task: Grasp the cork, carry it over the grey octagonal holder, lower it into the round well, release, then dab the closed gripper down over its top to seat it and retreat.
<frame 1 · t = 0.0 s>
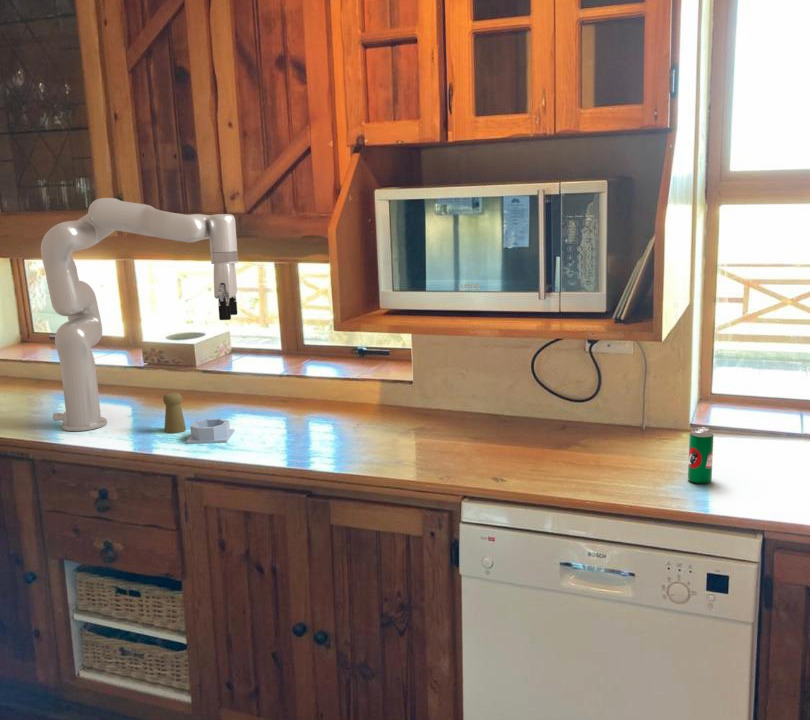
hand: (228, 317, 248), 31 cm above the worktop, fingers open, 9 cm apart
soda can: (699, 482, 192), on the worktop
grey octagonal holder: (210, 437, 238), on the worktop
cork: (175, 431, 246), on the worktop
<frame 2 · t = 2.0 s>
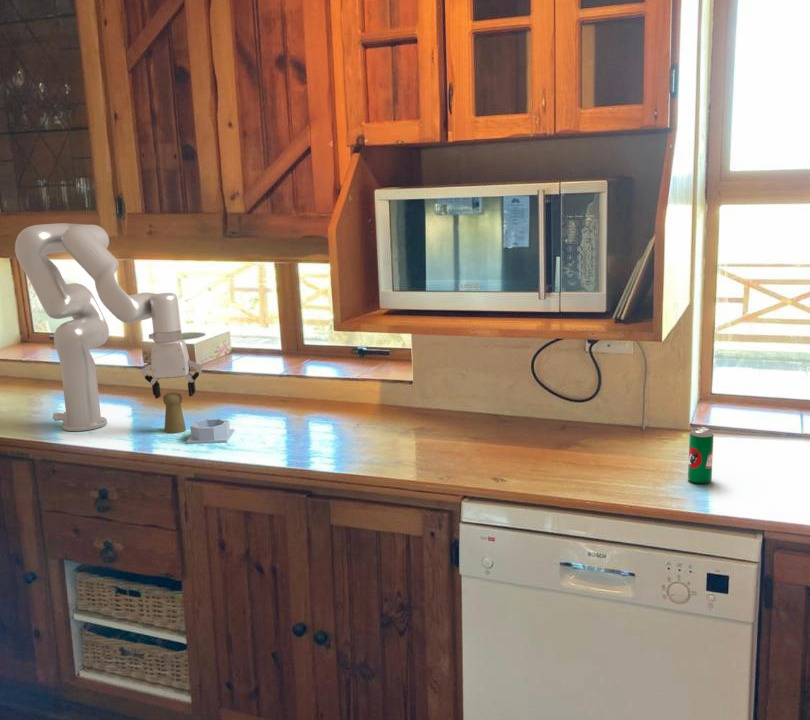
hand: (174, 396, 244), 10 cm above the worktop, fingers open, 9 cm apart
nothing on the worktop moved.
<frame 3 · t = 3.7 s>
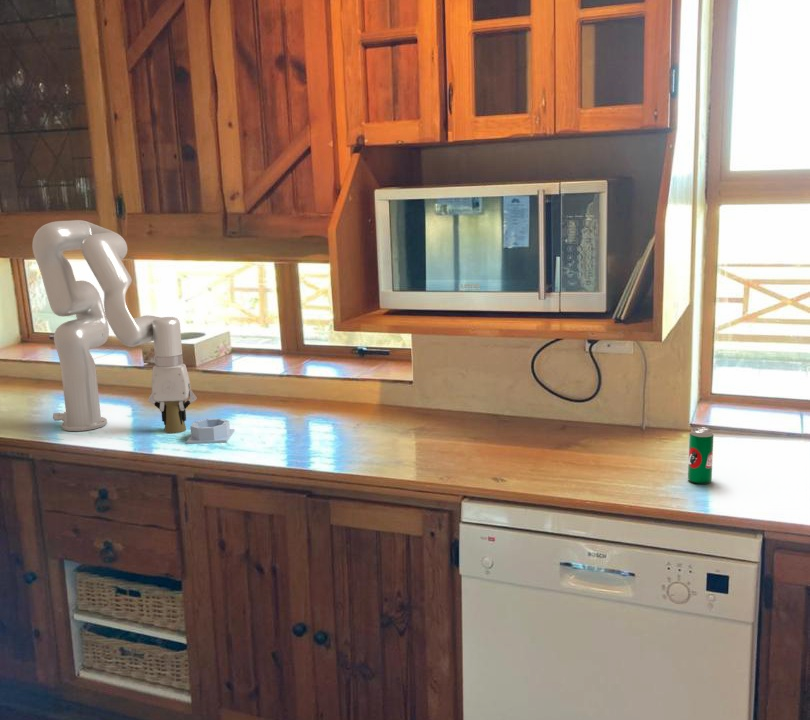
hand: (174, 422, 246), 2 cm above the worktop, fingers closed on cork, 3 cm apart
cork: (175, 431, 246), on the worktop, touching gripper
everything else where it was.
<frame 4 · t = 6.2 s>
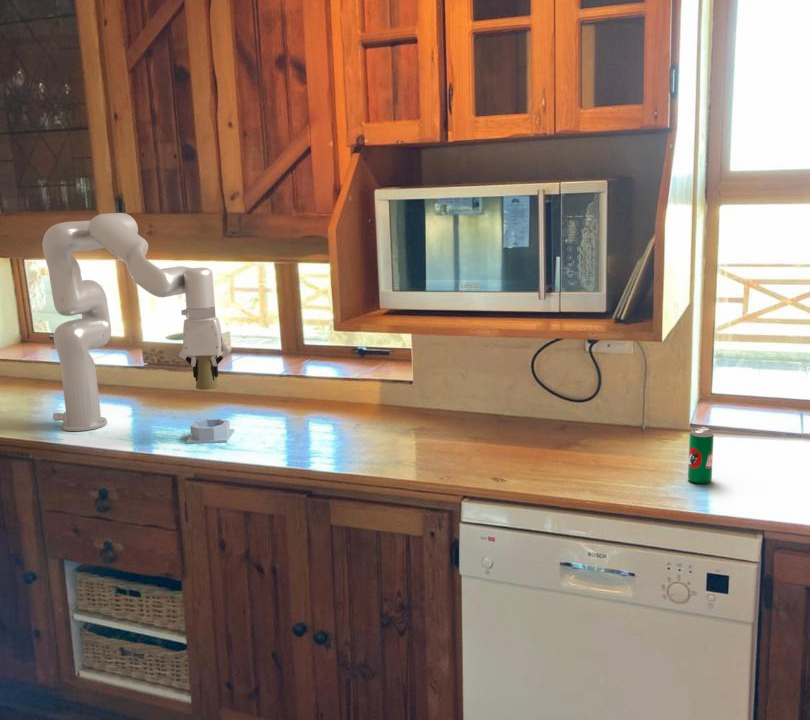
hand: (206, 379, 235), 17 cm above the worktop, fingers closed on cork, 3 cm apart
cork: (207, 387, 236), point 14 cm above the worktop, touching gripper
everything else where it was.
when the fingers open (4 cm above the worktop, at t = 9.0 s): cork drops 1 cm, resting on grey octagonal holder.
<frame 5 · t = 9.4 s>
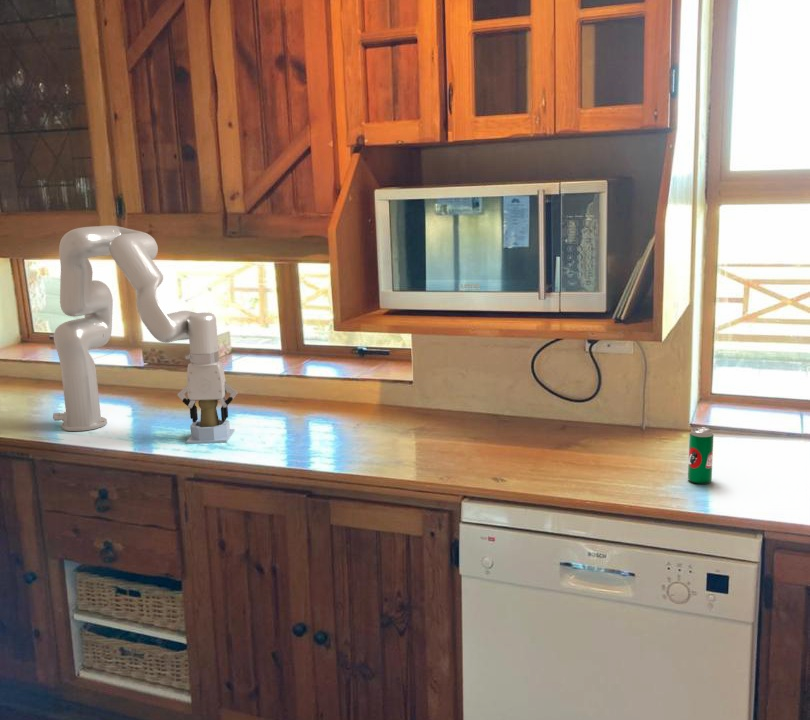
hand: (209, 420, 238), 5 cm above the worktop, fingers open, 7 cm apart
cork: (210, 435, 239), resting on grey octagonal holder
everything else where it was.
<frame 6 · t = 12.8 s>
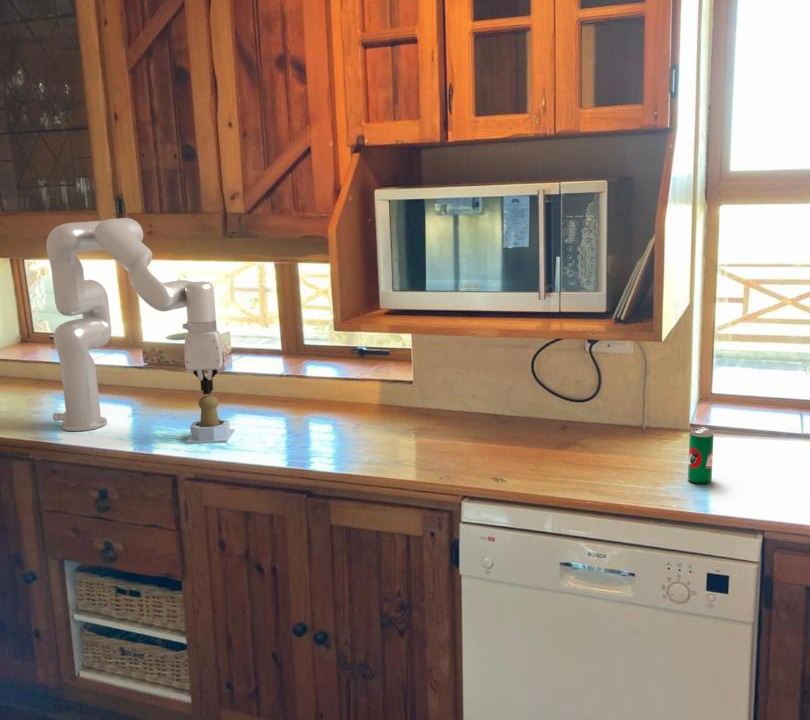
hand: (207, 393, 236), 13 cm above the worktop, fingers closed
nothing on the worktop moved.
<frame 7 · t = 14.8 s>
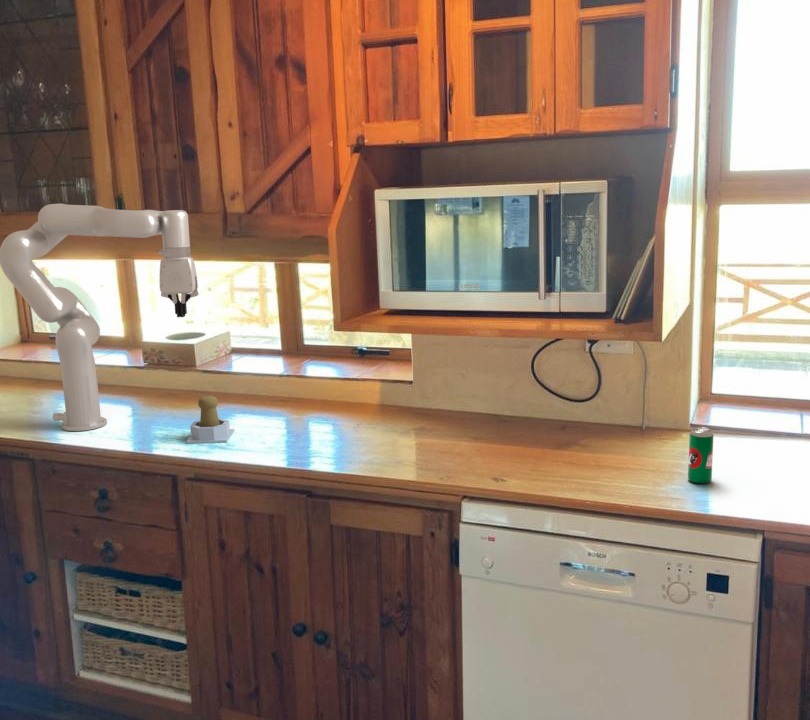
hand: (181, 316, 250), 31 cm above the worktop, fingers closed
nothing on the worktop moved.
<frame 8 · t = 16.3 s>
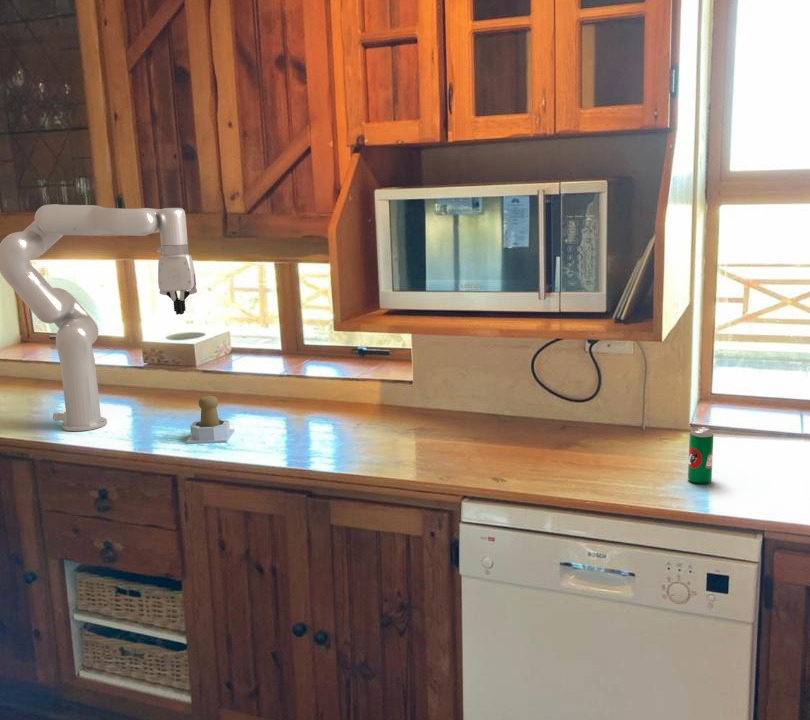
hand: (180, 313, 252), 32 cm above the worktop, fingers closed
nothing on the worktop moved.
at the end: cork 0.1 cm off-centre on the grey octagonal holder, point 0.4 cm above the grey octagonal holder's base; cork tilted 0°; the gripper is holding nothing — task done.
